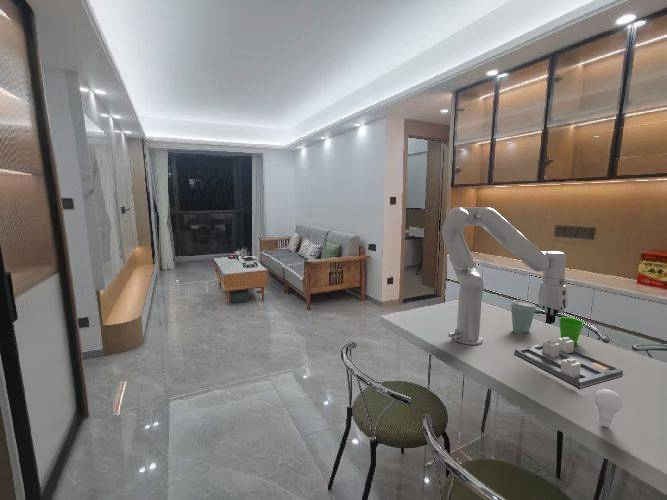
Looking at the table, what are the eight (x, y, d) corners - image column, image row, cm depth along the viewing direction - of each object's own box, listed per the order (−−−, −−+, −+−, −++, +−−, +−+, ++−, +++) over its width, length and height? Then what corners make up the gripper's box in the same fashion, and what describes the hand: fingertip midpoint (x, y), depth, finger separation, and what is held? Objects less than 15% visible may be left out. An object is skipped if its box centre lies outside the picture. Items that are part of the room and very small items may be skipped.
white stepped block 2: (571, 378, 116) (573, 363, 115) (560, 372, 120) (561, 358, 119) (579, 376, 118) (581, 361, 117) (568, 370, 121) (569, 356, 120)
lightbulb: (585, 419, 98) (590, 385, 96) (604, 418, 98) (609, 383, 96) (603, 434, 92) (609, 397, 90) (624, 433, 92) (630, 396, 90)
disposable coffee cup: (520, 327, 166) (522, 297, 163) (539, 335, 156) (542, 304, 153) (503, 329, 163) (505, 300, 160) (521, 338, 152) (524, 307, 150)
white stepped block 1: (551, 357, 131) (552, 343, 130) (542, 352, 135) (543, 339, 134) (558, 355, 133) (560, 342, 132) (549, 351, 136) (550, 338, 135)
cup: (585, 350, 141) (588, 325, 139) (561, 348, 143) (564, 324, 141) (574, 341, 150) (577, 317, 148) (552, 339, 151) (554, 316, 150)
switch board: (579, 389, 113) (580, 382, 112) (514, 355, 137) (514, 349, 136) (621, 377, 120) (622, 370, 120) (553, 346, 144) (553, 341, 144)
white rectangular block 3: (565, 353, 134) (567, 340, 133) (556, 349, 138) (557, 336, 137) (572, 352, 135) (574, 339, 134) (563, 348, 139) (564, 335, 138)
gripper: (577, 284, 134) (574, 327, 137) (543, 276, 148) (540, 316, 150) (564, 286, 131) (561, 330, 134) (530, 278, 145) (528, 318, 148)
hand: (550, 322), depth 142 cm, fingers closed
